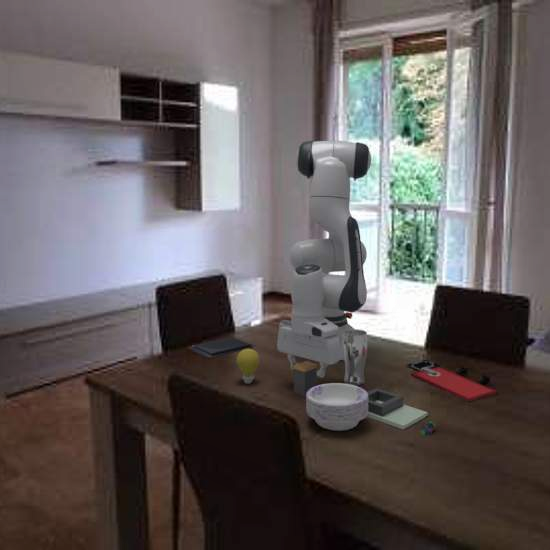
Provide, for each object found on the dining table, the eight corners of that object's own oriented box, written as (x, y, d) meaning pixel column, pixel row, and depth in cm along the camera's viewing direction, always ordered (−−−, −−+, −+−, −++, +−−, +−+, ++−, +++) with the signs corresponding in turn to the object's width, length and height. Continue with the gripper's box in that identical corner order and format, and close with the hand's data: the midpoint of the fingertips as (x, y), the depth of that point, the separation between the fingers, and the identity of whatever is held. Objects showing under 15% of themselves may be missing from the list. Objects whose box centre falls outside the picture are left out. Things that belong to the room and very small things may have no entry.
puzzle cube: (424, 428, 146) (424, 419, 145) (435, 431, 144) (435, 422, 143) (416, 434, 142) (417, 425, 142) (427, 437, 141) (428, 428, 140)
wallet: (207, 355, 196) (184, 344, 208) (207, 360, 196) (185, 349, 208) (257, 344, 208) (233, 334, 219) (257, 349, 208) (233, 339, 220)
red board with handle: (430, 361, 194) (394, 370, 186) (430, 353, 193) (394, 361, 186) (506, 393, 168) (468, 404, 161) (507, 383, 167) (469, 395, 160)
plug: (305, 387, 171) (306, 360, 169) (316, 391, 168) (316, 364, 167) (293, 392, 167) (294, 365, 166) (304, 396, 165) (304, 368, 163)
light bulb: (256, 386, 171) (256, 353, 170) (234, 385, 173) (233, 352, 171) (261, 378, 178) (261, 346, 176) (240, 377, 179) (239, 345, 177)
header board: (357, 392, 167) (357, 381, 166) (427, 416, 152) (428, 403, 151) (332, 404, 159) (332, 391, 158) (403, 429, 144) (404, 416, 143)
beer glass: (339, 384, 174) (340, 334, 171) (345, 376, 180) (346, 328, 177) (363, 387, 171) (364, 336, 168) (368, 379, 178) (369, 330, 175)
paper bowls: (305, 410, 155) (305, 381, 154) (364, 411, 155) (364, 381, 153) (306, 436, 140) (306, 404, 139) (371, 437, 140) (372, 405, 139)
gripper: (272, 320, 168) (272, 367, 171) (329, 333, 155) (329, 384, 157) (287, 316, 173) (287, 362, 175) (344, 328, 159) (343, 378, 161)
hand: (307, 373), depth 166 cm, fingers open, 8 cm apart
